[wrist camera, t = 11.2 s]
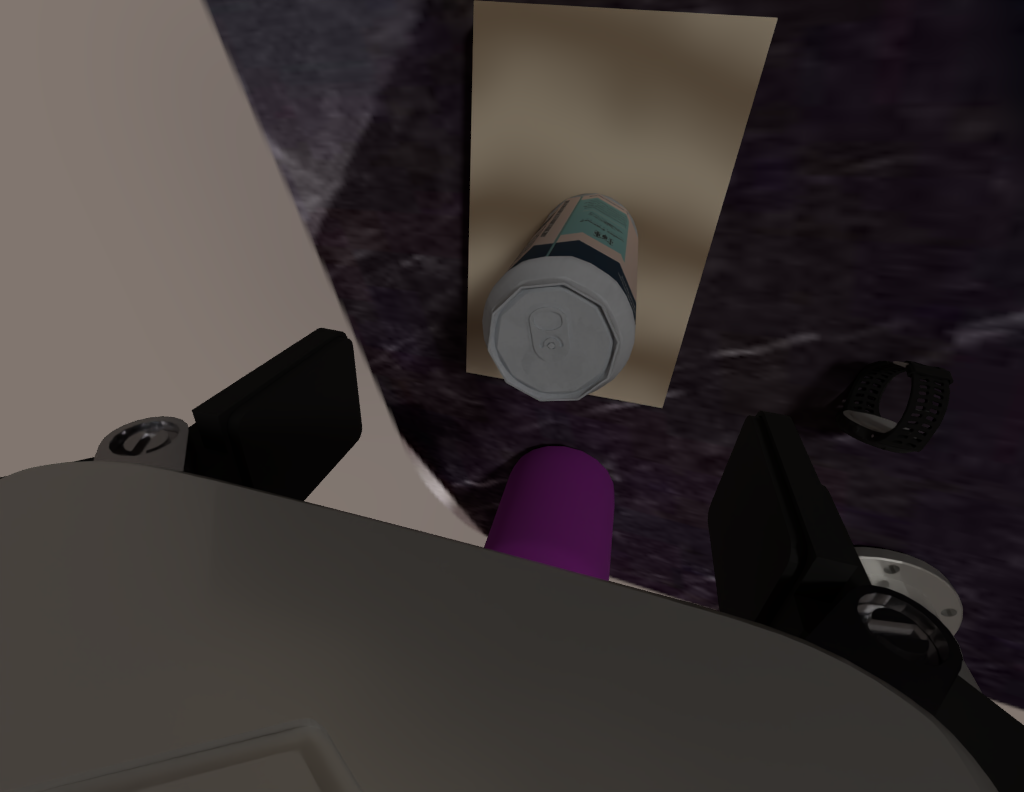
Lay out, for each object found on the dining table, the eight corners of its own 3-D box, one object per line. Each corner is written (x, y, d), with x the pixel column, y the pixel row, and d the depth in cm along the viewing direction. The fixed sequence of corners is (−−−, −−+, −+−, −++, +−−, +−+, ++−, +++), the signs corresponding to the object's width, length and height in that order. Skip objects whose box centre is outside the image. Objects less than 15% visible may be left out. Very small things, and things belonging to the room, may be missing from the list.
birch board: (661, 390, 29) (662, 408, 28) (475, 357, 31) (466, 371, 30) (766, 24, 20) (777, 17, 18) (487, 7, 22) (473, 0, 20)
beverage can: (513, 430, 34) (458, 568, 24) (622, 447, 32) (612, 601, 23) (511, 508, 38) (465, 653, 28) (609, 525, 37) (595, 685, 27)
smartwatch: (809, 392, 27) (838, 444, 23) (893, 324, 25) (944, 371, 20) (864, 429, 28) (902, 487, 24) (953, 368, 25) (1014, 422, 21)
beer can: (548, 292, 26) (489, 415, 16) (535, 199, 23) (457, 275, 14) (640, 283, 24) (638, 412, 15) (636, 183, 22) (630, 256, 12)
